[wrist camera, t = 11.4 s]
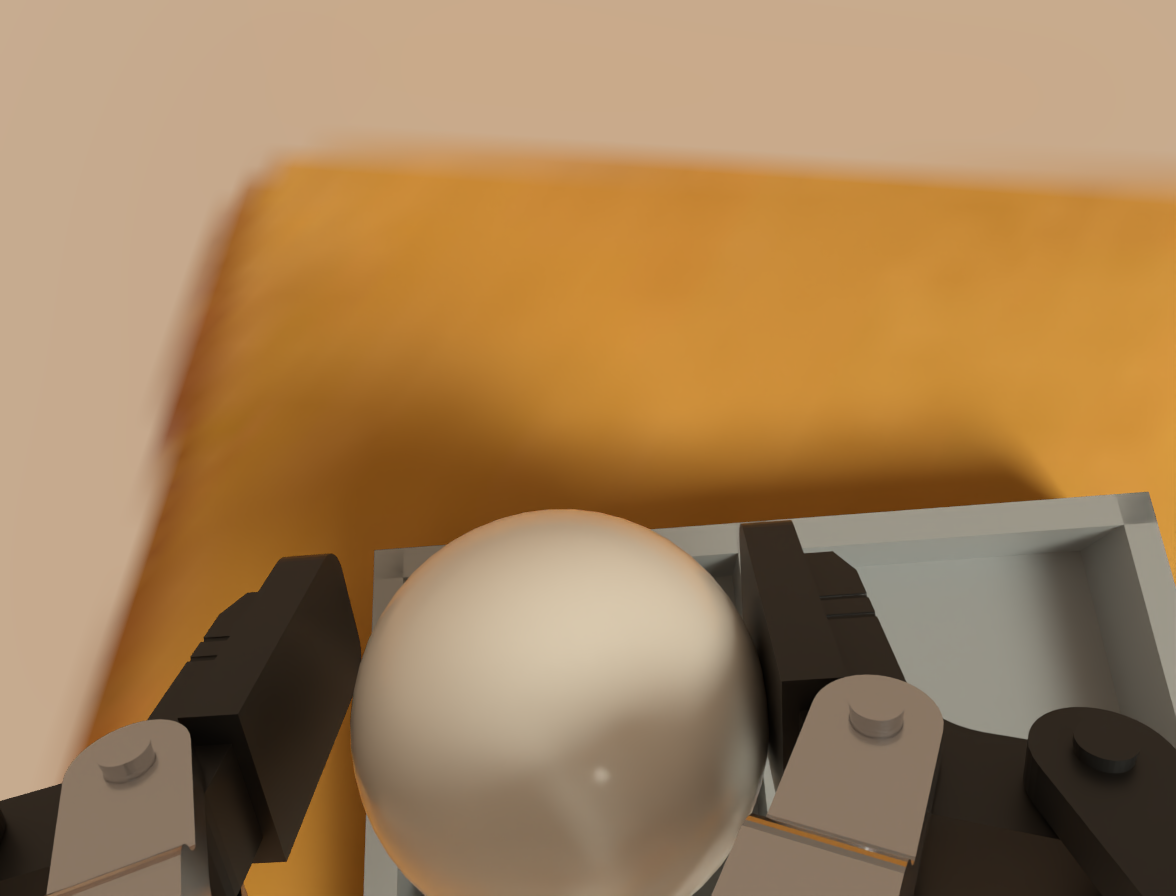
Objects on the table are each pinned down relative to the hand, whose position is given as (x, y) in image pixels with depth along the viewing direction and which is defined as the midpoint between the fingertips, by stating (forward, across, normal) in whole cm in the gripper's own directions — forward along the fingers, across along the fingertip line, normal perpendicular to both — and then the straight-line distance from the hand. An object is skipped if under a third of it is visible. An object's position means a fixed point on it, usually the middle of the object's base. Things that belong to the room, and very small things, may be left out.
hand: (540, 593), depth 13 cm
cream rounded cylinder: (+3, 0, +6) cm, 6 cm away
